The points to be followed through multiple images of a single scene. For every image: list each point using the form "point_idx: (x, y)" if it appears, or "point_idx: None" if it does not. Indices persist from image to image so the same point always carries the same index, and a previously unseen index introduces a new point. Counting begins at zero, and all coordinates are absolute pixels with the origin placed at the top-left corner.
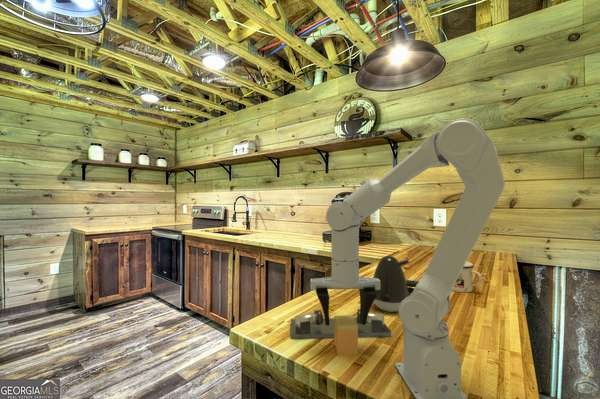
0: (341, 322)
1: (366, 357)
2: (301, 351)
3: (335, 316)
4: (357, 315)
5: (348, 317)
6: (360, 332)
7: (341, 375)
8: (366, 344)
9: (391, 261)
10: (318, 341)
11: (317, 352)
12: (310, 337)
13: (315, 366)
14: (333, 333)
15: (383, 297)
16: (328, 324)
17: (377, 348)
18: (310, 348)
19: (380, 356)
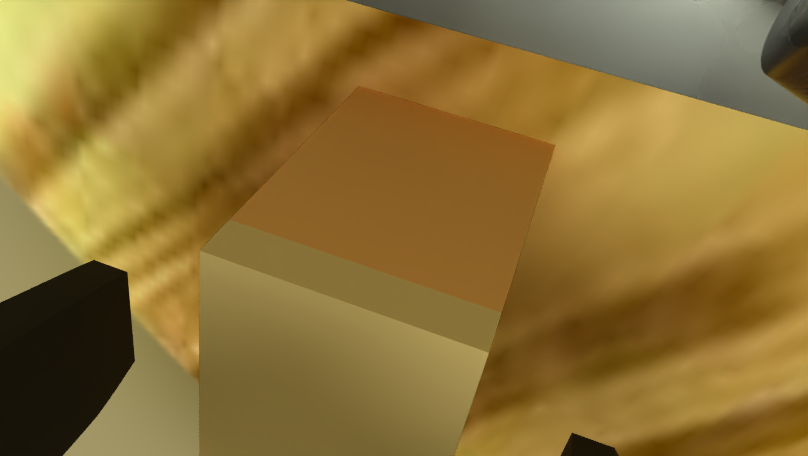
0: (256, 438)
1: (545, 381)
2: (59, 121)
3: (214, 285)
4: (791, 78)
5: (396, 383)
6: (737, 98)
7: None
8: (685, 236)
9: None
10: (206, 8)
11: (181, 180)
12: None
13: (156, 313)
14: (362, 3)
15: None
16: (118, 370)
17: (744, 331)
18: (127, 105)
19: (671, 419)
